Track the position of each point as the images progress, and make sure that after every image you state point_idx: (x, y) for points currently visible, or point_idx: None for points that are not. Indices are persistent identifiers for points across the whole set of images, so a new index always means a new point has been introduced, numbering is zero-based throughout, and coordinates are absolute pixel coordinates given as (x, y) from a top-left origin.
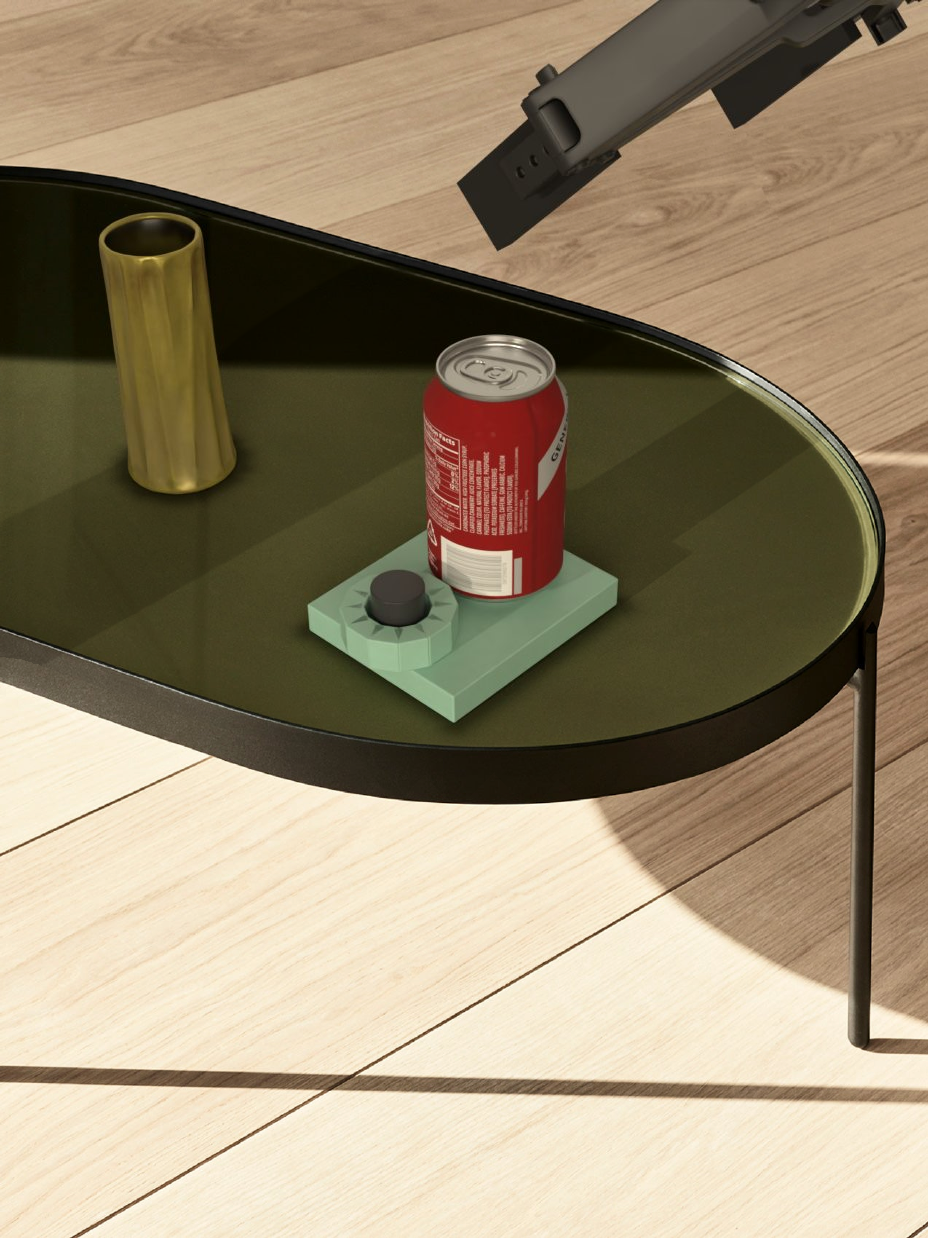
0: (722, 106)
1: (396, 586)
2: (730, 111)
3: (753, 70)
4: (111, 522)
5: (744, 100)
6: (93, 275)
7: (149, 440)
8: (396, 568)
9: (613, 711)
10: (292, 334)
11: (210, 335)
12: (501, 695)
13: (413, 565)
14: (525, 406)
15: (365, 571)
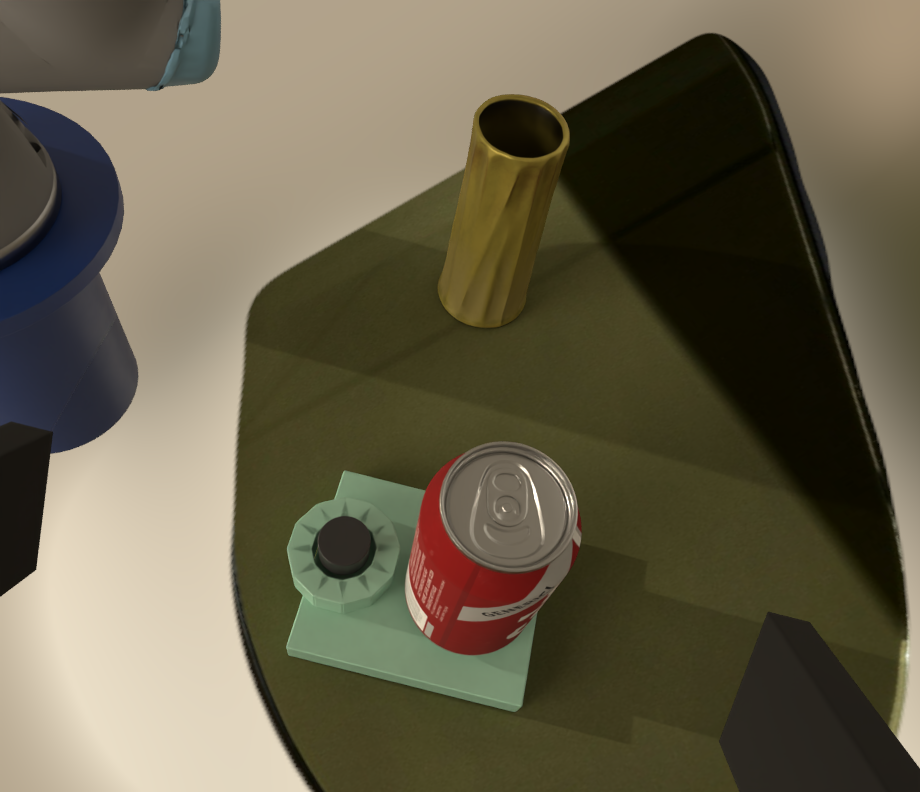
0: (735, 699)
1: (342, 539)
2: (734, 722)
3: (787, 763)
4: (390, 287)
5: (749, 754)
6: (651, 125)
7: (446, 262)
8: None
9: (371, 787)
10: (684, 275)
11: (518, 235)
12: (343, 675)
13: None
14: (473, 566)
15: (408, 490)
